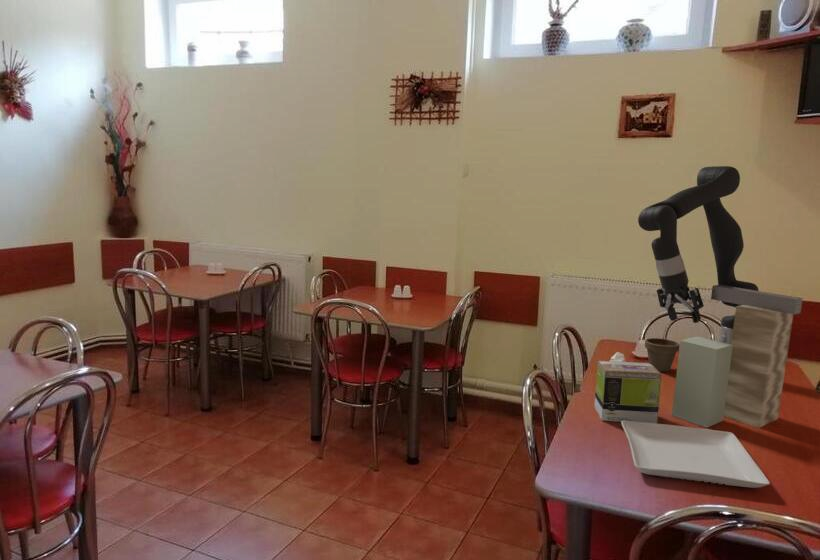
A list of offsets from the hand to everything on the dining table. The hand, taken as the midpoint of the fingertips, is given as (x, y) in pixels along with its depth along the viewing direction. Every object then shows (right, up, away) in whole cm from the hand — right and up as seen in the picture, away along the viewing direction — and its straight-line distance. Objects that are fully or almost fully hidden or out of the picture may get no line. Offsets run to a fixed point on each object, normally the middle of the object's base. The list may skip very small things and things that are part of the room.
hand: (685, 320), depth 178 cm
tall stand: (+14, -27, -10) cm, 32 cm away
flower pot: (+6, -20, +32) cm, 38 cm away
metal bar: (+13, +5, -13) cm, 19 cm away
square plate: (-18, -31, -38) cm, 52 cm away
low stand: (-2, -27, -12) cm, 29 cm away
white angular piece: (-19, -23, +4) cm, 30 cm away
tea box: (-23, -26, -12) cm, 37 cm away
